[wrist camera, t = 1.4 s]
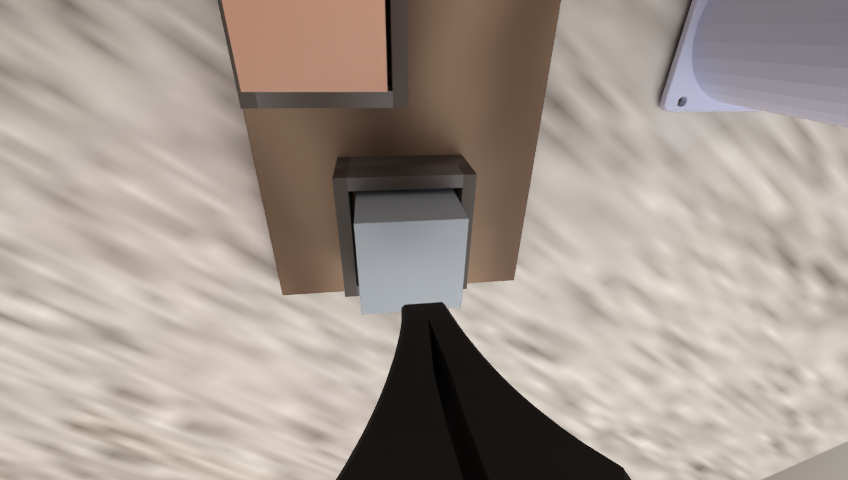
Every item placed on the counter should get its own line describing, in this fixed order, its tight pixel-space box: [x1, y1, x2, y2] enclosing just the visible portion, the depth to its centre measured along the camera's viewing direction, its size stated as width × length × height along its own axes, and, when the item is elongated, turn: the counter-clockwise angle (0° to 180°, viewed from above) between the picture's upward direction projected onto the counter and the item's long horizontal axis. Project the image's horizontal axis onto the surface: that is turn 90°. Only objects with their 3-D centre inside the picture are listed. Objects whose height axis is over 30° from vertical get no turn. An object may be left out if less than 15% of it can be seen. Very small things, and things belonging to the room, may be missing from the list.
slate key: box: [354, 188, 469, 315], centre depth 17 cm, size 4×4×4 cm
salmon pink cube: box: [222, 0, 388, 92], centre depth 12 cm, size 4×4×4 cm
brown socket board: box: [218, 0, 561, 297], centre depth 15 cm, size 14×28×4 cm, turn 179°
